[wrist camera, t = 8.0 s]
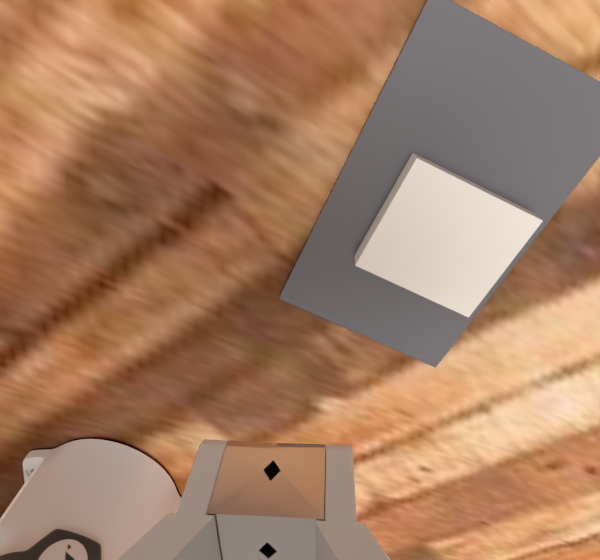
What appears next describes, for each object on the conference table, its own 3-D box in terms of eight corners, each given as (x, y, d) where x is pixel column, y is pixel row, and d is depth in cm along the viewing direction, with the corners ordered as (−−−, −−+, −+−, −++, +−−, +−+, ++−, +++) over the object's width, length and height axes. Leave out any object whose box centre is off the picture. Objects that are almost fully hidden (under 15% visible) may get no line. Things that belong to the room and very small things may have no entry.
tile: (354, 253, 32) (461, 303, 32) (355, 265, 30) (468, 317, 31) (412, 151, 28) (530, 210, 29) (416, 158, 26) (543, 220, 27)
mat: (434, 362, 36) (435, 367, 35) (279, 295, 34) (278, 298, 34) (634, 103, 26) (640, 103, 26) (430, -8, 25) (432, -10, 24)
